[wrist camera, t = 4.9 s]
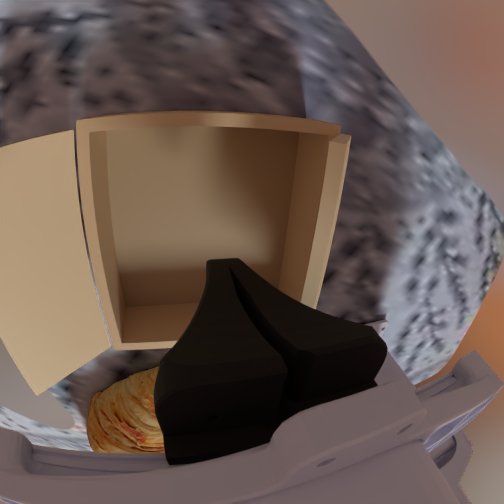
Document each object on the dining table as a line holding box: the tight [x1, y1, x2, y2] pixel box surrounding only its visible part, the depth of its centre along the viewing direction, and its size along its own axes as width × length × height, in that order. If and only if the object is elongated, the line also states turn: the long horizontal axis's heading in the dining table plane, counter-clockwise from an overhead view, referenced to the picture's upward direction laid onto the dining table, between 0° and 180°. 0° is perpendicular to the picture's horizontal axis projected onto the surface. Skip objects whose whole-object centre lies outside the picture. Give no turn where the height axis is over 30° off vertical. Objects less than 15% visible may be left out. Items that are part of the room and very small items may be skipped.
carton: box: [76, 111, 341, 350], centre depth 16 cm, size 13×12×4 cm
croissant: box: [87, 366, 165, 454], centre depth 23 cm, size 21×10×8 cm, turn 144°
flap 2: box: [301, 134, 351, 309], centre depth 13 cm, size 12×6×1 cm
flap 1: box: [0, 130, 111, 396], centre depth 10 cm, size 12×6×1 cm
